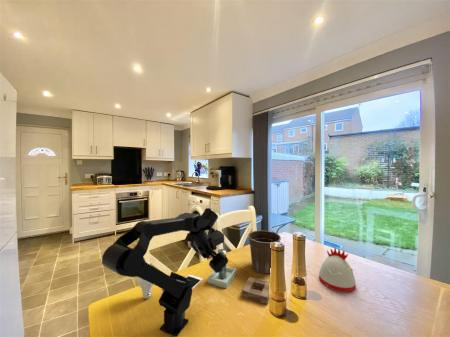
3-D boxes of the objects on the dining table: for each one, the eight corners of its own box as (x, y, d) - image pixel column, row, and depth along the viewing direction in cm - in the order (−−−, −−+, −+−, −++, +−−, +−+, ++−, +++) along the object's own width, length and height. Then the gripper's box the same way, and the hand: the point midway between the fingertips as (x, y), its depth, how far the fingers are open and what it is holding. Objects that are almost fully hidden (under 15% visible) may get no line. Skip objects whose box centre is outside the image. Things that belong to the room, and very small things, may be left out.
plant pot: (275, 280, 86) (275, 244, 86) (242, 270, 94) (242, 237, 94) (284, 264, 100) (284, 233, 100) (254, 257, 108) (254, 228, 108)
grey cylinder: (227, 278, 86) (226, 252, 86) (218, 279, 85) (218, 252, 85) (226, 274, 90) (225, 248, 89) (218, 274, 89) (217, 249, 89)
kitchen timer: (354, 296, 76) (354, 258, 76) (316, 283, 84) (316, 249, 84) (356, 280, 87) (356, 246, 87) (322, 269, 95) (323, 239, 95)
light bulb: (150, 290, 79) (150, 263, 79) (159, 297, 75) (159, 269, 75) (134, 298, 74) (134, 270, 74) (142, 306, 70) (143, 276, 69)
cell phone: (163, 295, 76) (163, 294, 76) (189, 275, 90) (189, 274, 90) (179, 302, 73) (179, 300, 73) (203, 280, 87) (203, 278, 87)
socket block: (267, 304, 71) (267, 297, 71) (241, 296, 75) (241, 290, 75) (272, 288, 80) (272, 282, 80) (249, 282, 84) (249, 276, 84)
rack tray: (226, 288, 80) (226, 282, 80) (207, 283, 84) (207, 277, 84) (236, 273, 91) (236, 268, 91) (219, 269, 95) (219, 264, 95)
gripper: (232, 237, 69) (243, 262, 76) (204, 216, 83) (216, 239, 90) (208, 259, 64) (223, 285, 71) (183, 233, 78) (197, 257, 85)
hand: (214, 264), depth 80 cm, fingers open, 9 cm apart
